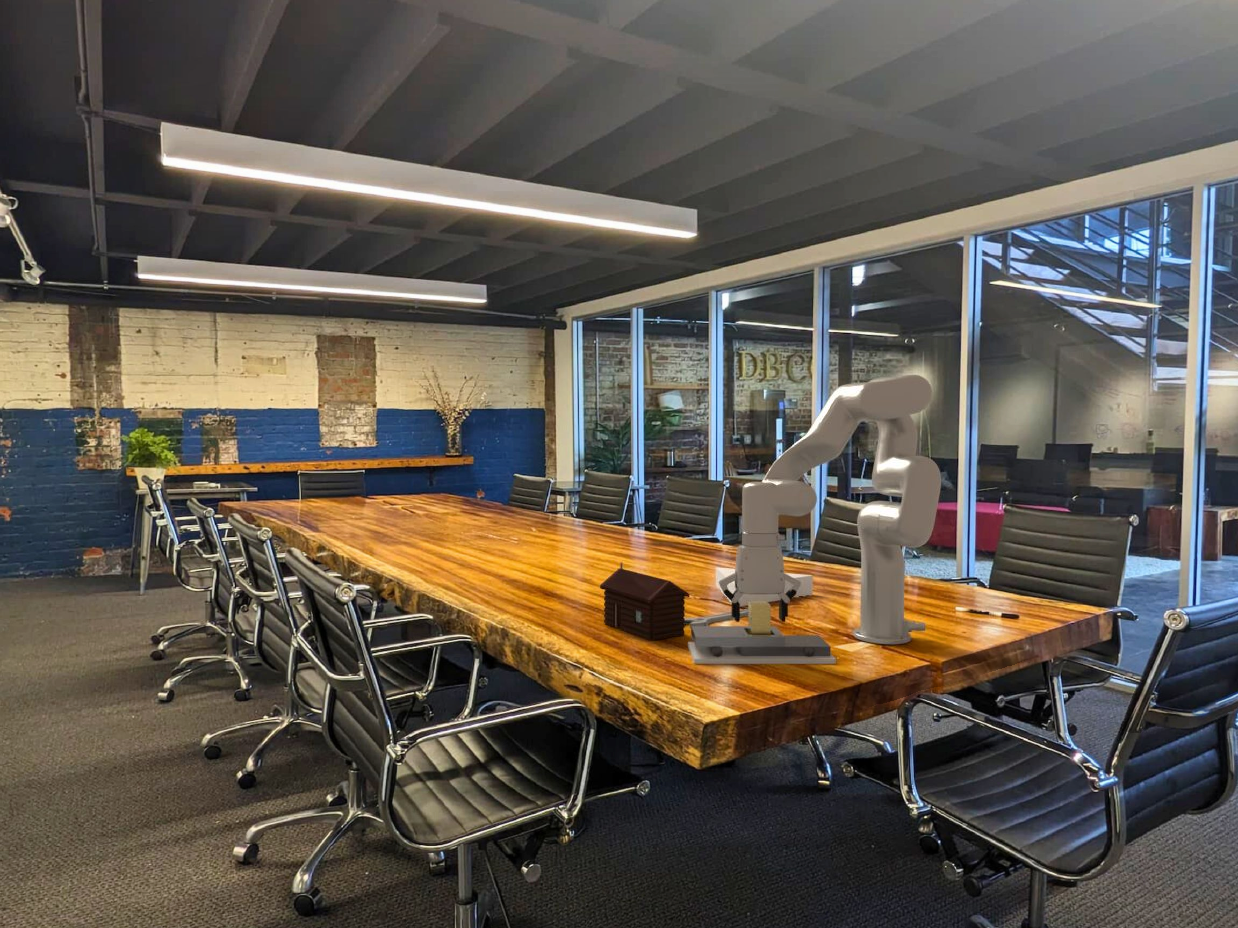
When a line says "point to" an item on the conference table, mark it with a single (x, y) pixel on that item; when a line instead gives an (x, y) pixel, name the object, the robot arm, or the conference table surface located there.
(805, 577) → the triangle block
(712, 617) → the adjustable wrench
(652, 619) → the model building
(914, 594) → the conference table surface
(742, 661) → the board
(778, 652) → the gray toy truck
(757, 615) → the pin
